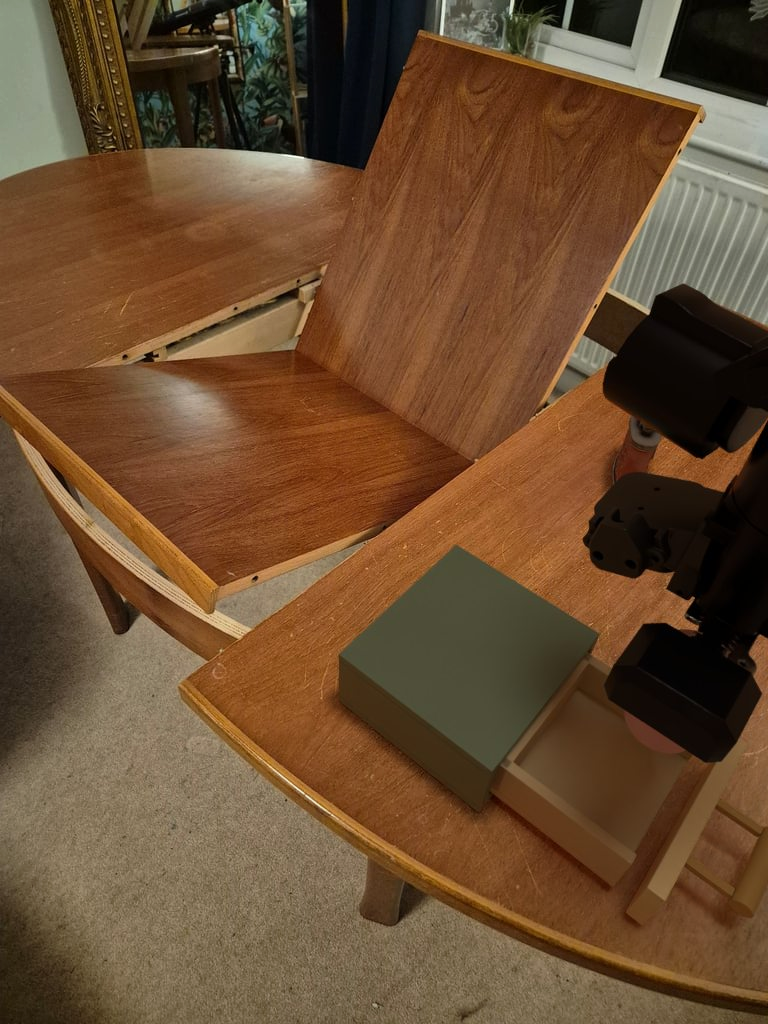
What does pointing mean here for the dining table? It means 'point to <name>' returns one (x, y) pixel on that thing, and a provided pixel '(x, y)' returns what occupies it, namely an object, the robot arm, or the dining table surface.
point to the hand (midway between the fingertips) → (683, 683)
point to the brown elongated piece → (635, 450)
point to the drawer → (619, 795)
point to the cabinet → (461, 670)
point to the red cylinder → (649, 734)
